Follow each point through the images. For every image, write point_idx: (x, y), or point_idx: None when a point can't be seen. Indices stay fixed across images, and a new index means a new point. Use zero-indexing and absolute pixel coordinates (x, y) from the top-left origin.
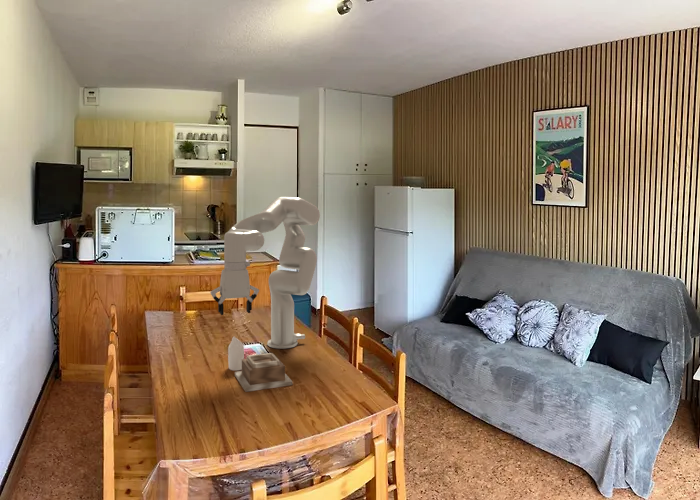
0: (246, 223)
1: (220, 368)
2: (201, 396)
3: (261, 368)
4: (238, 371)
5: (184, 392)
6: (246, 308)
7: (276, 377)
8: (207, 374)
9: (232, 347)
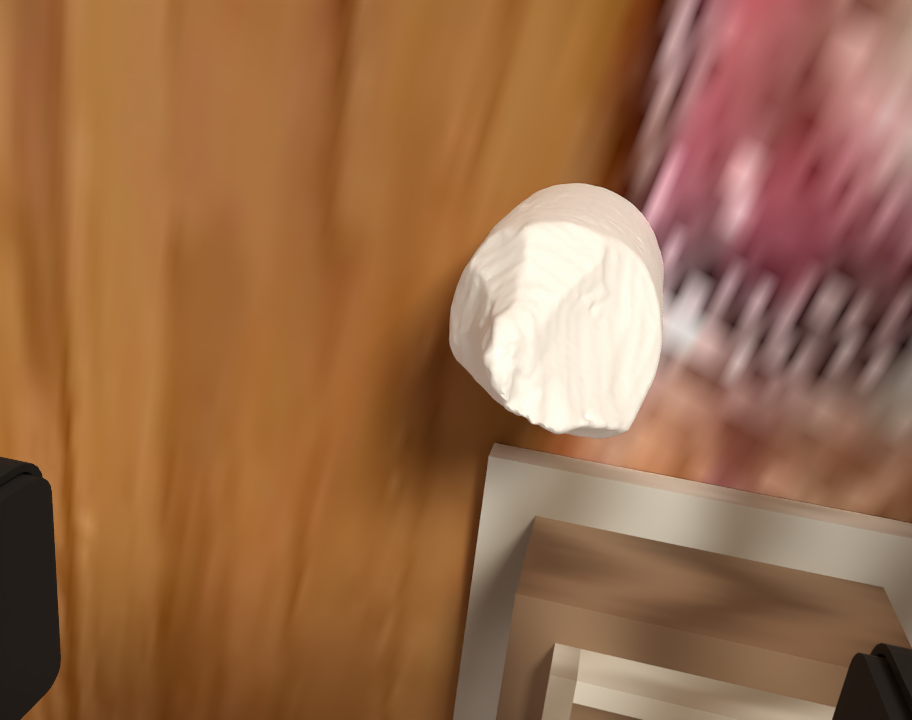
0: None
1: (430, 196)
2: (164, 670)
3: None
4: (523, 464)
5: (70, 552)
6: (884, 714)
7: None
8: (280, 294)
9: (480, 384)
